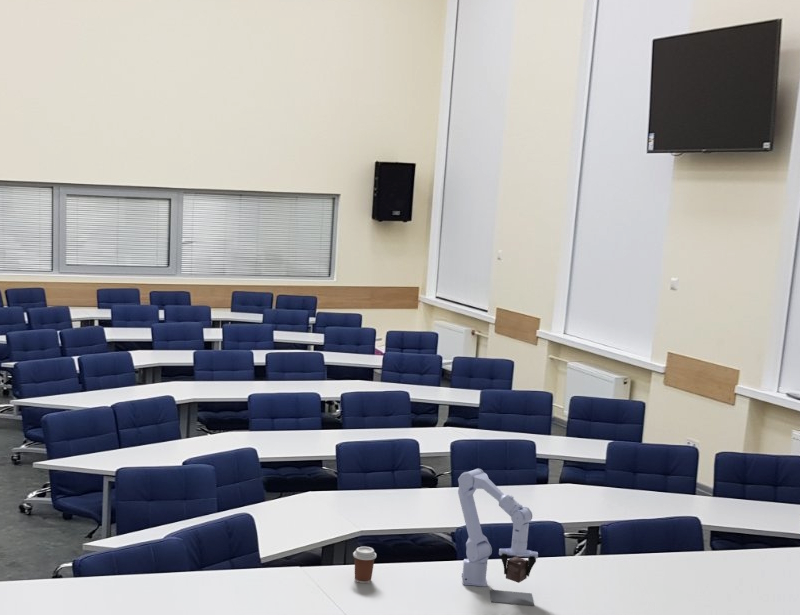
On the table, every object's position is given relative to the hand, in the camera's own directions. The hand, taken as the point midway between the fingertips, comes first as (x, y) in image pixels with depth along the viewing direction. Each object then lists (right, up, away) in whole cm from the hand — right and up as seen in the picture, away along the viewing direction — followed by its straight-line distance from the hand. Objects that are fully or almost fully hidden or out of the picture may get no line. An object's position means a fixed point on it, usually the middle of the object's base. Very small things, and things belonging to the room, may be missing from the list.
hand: (516, 574), depth 366 cm
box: (0, -2, 0) cm, 2 cm away
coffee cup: (-58, -4, +5) cm, 59 cm away
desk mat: (-2, -9, -1) cm, 9 cm away
